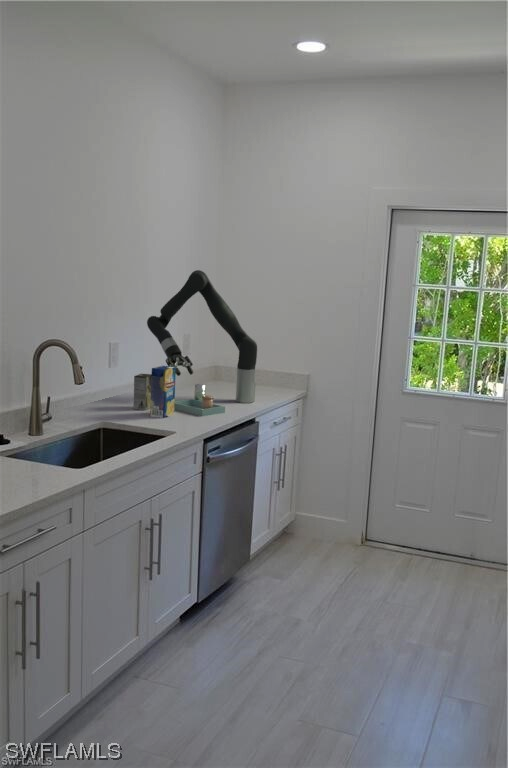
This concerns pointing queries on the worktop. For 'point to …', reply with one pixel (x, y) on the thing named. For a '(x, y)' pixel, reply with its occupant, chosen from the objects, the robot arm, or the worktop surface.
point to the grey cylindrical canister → (199, 391)
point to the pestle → (207, 402)
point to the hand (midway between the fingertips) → (185, 374)
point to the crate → (197, 407)
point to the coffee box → (142, 391)
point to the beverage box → (162, 391)
